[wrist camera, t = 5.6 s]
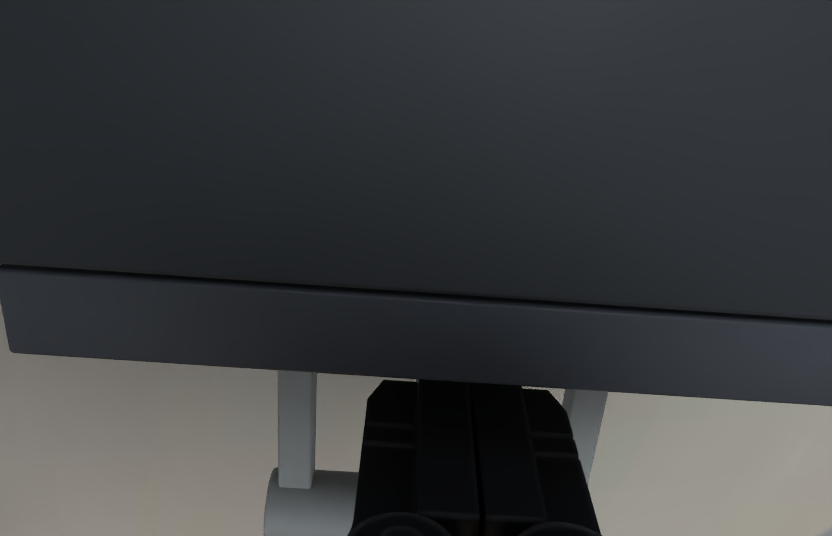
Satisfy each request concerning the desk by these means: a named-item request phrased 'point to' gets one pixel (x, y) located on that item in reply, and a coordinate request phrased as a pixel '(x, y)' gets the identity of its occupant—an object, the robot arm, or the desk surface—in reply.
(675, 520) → the desk surface
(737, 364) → the drawer
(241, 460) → the desk surface
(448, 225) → the small filing cabinet
